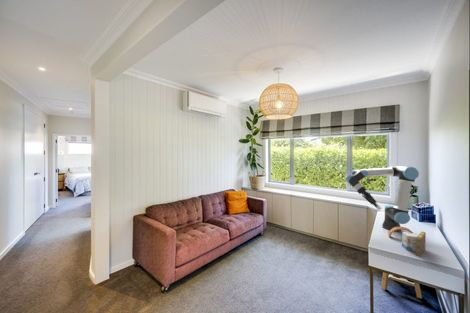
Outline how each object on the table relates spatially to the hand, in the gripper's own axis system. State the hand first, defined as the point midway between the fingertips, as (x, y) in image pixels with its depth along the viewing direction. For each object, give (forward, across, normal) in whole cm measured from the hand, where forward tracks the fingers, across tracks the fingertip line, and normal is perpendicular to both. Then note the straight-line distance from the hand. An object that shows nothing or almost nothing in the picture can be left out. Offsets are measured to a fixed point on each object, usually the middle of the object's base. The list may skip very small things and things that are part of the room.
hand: (380, 209), depth 185 cm
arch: (+28, -12, -9) cm, 32 cm away
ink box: (+34, +6, -2) cm, 35 cm away
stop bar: (+39, +8, +2) cm, 40 cm away
